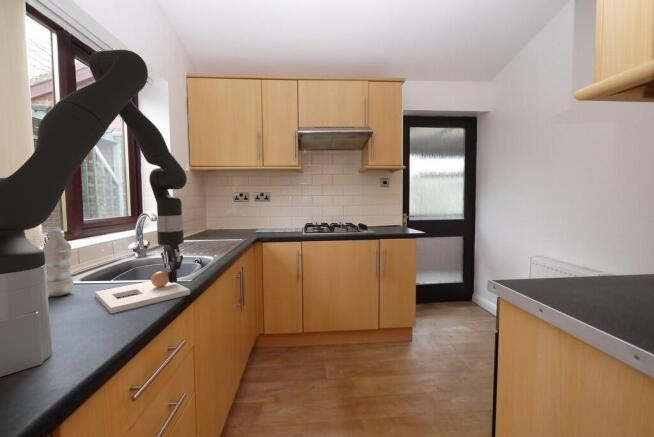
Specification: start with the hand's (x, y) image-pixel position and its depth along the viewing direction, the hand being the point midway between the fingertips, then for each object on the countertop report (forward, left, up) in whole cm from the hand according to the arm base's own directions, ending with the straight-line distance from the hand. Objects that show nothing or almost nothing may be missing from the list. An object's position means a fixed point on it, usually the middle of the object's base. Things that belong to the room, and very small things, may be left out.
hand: (172, 282), depth 96 cm
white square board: (0, +9, -2) cm, 9 cm away
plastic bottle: (+20, +26, -3) cm, 33 cm away
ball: (0, +4, +2) cm, 4 cm away
